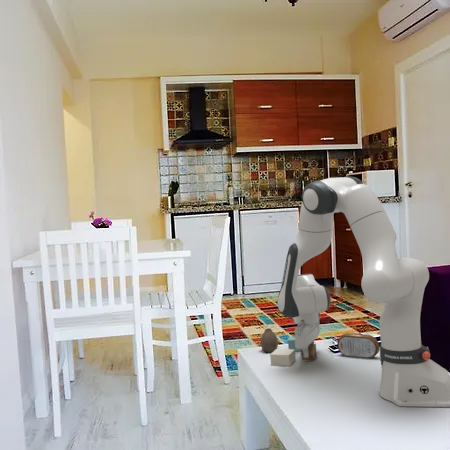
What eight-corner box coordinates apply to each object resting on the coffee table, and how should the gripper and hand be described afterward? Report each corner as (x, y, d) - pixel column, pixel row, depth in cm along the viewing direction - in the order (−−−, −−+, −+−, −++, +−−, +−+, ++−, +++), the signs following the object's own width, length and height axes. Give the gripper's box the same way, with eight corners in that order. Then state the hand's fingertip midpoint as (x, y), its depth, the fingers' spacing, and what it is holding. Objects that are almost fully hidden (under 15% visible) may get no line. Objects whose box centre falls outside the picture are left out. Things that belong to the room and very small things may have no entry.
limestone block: (295, 360, 187) (294, 349, 187) (289, 366, 181) (288, 355, 181) (277, 359, 190) (276, 348, 190) (271, 365, 184) (270, 354, 184)
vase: (258, 350, 204) (256, 328, 204) (274, 347, 206) (272, 326, 206) (265, 354, 197) (263, 332, 197) (281, 351, 199) (279, 329, 199)
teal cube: (302, 348, 201) (301, 336, 201) (302, 352, 196) (300, 339, 196) (289, 349, 202) (288, 336, 202) (289, 353, 197) (287, 340, 197)
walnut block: (316, 357, 189) (315, 344, 188) (313, 361, 185) (312, 347, 184) (305, 356, 191) (304, 343, 190) (301, 360, 186) (300, 347, 186)
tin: (380, 357, 182) (378, 334, 182) (378, 360, 179) (376, 336, 179) (340, 354, 190) (338, 331, 190) (337, 356, 188) (335, 334, 187)
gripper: (306, 324, 176) (309, 363, 177) (321, 311, 195) (324, 346, 195) (289, 324, 179) (292, 362, 179) (305, 311, 197) (308, 346, 198)
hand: (308, 354), depth 188 cm, fingers closed on walnut block, 4 cm apart
